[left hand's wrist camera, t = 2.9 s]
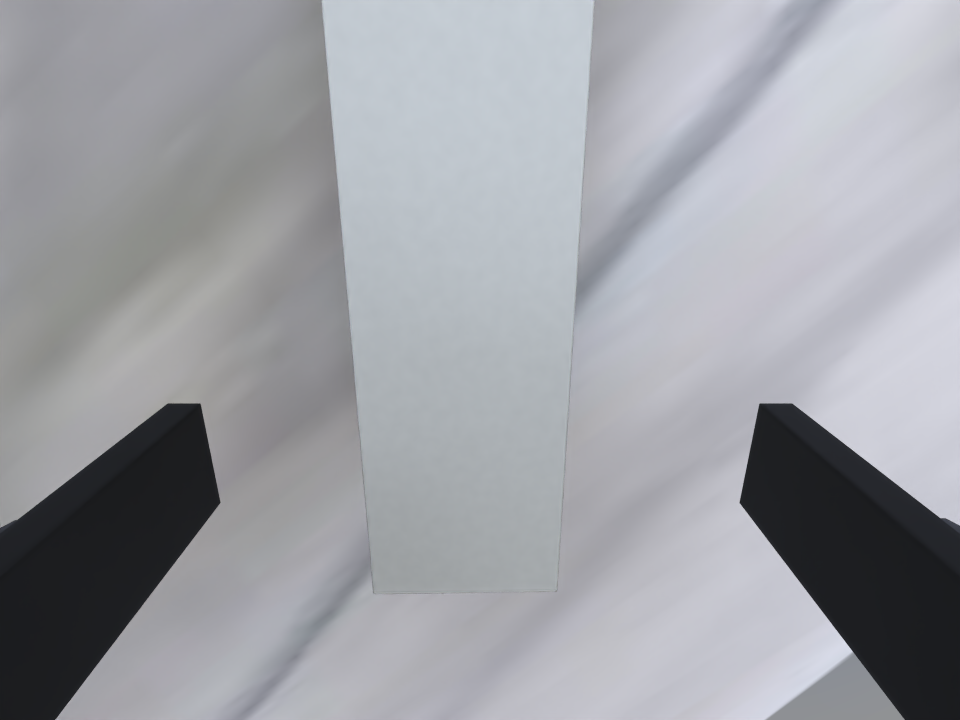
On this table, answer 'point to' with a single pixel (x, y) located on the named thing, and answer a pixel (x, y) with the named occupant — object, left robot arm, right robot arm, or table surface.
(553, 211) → the bar
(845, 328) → the table surface
